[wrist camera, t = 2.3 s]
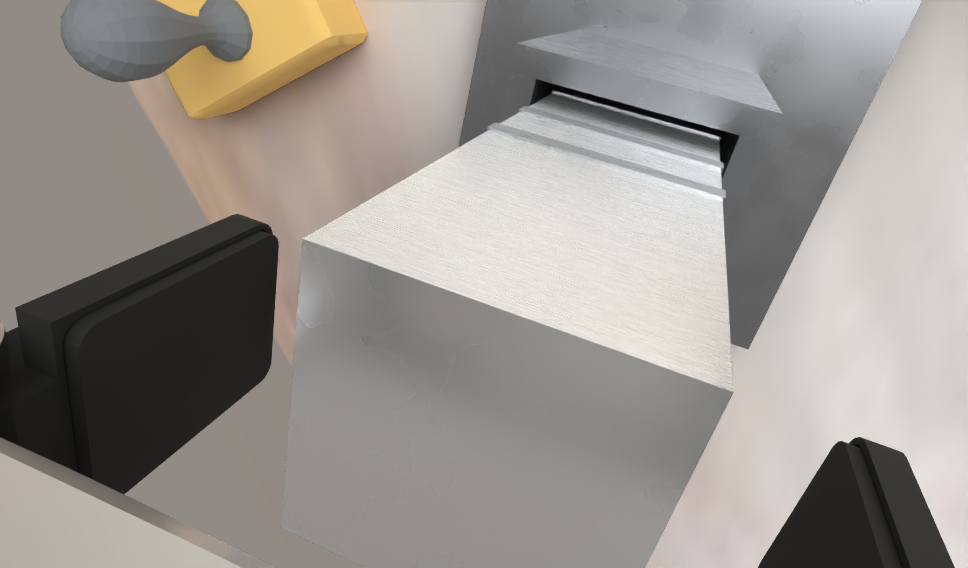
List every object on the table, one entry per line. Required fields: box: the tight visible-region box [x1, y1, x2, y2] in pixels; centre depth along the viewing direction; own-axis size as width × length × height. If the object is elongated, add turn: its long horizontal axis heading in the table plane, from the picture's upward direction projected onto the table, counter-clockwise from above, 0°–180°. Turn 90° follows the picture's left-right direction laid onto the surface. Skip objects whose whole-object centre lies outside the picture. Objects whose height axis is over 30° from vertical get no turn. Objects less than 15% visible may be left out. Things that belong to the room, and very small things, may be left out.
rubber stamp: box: [61, 0, 368, 120], centre depth 28 cm, size 10×6×12 cm, turn 114°
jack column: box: [281, 87, 733, 568], centre depth 17 cm, size 5×5×22 cm
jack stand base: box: [459, 0, 922, 349], centre depth 24 cm, size 16×16×12 cm
